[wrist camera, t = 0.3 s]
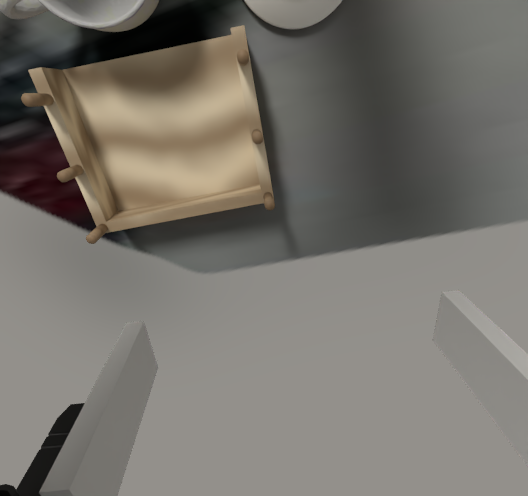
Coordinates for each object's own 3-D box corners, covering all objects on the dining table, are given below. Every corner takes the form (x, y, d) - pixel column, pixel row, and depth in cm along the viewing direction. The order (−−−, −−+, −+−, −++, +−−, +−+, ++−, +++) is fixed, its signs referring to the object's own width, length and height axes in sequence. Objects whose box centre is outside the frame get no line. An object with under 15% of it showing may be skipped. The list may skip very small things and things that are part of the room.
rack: (56, 73, 33) (5, 67, 26) (244, 34, 32) (243, 17, 25) (115, 218, 40) (87, 245, 33) (271, 189, 39) (276, 210, 32)
